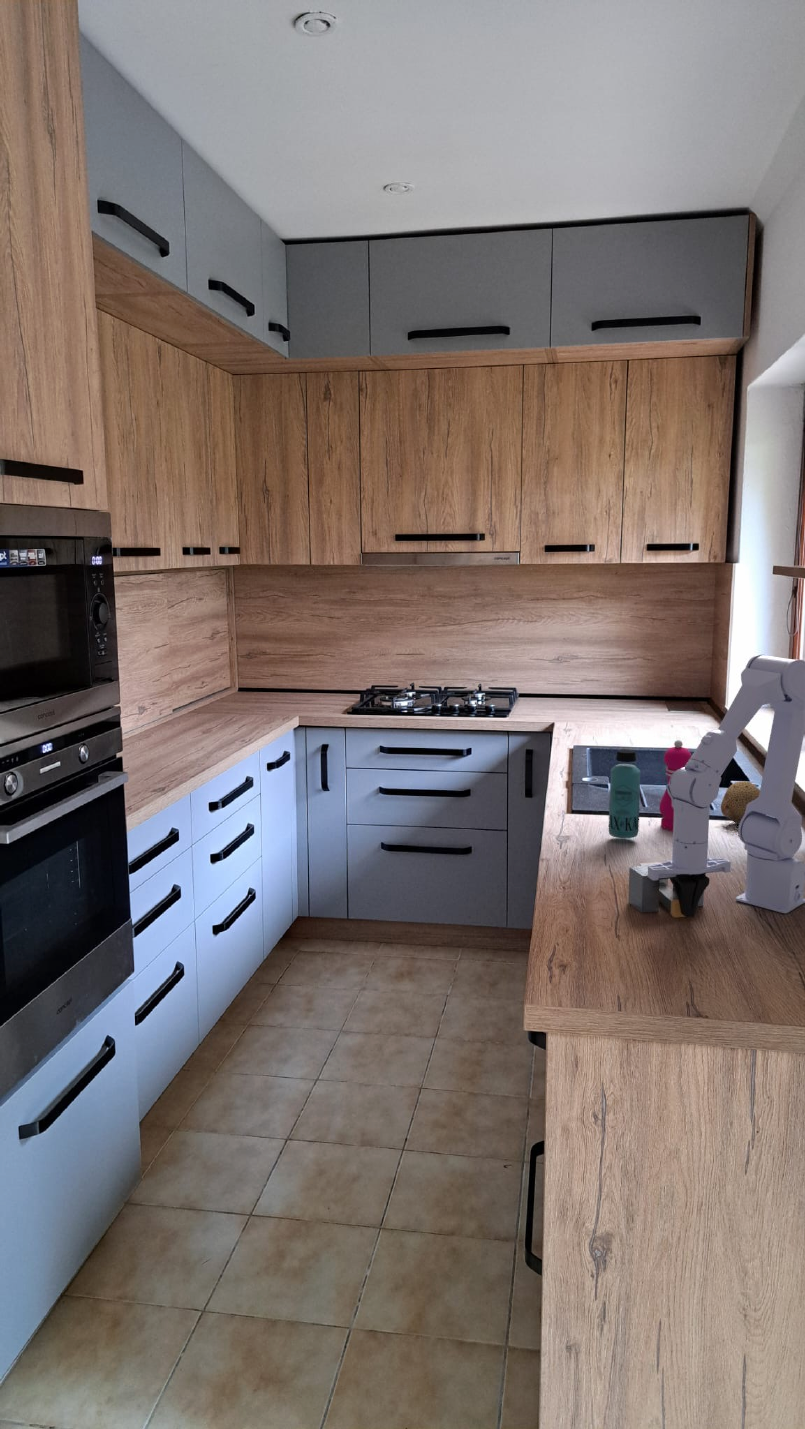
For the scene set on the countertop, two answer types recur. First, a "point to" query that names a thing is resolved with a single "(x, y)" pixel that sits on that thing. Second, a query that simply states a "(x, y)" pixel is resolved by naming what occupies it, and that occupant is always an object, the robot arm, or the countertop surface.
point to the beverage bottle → (624, 797)
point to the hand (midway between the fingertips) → (687, 915)
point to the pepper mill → (674, 761)
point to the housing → (646, 890)
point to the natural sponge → (738, 800)
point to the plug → (667, 896)
